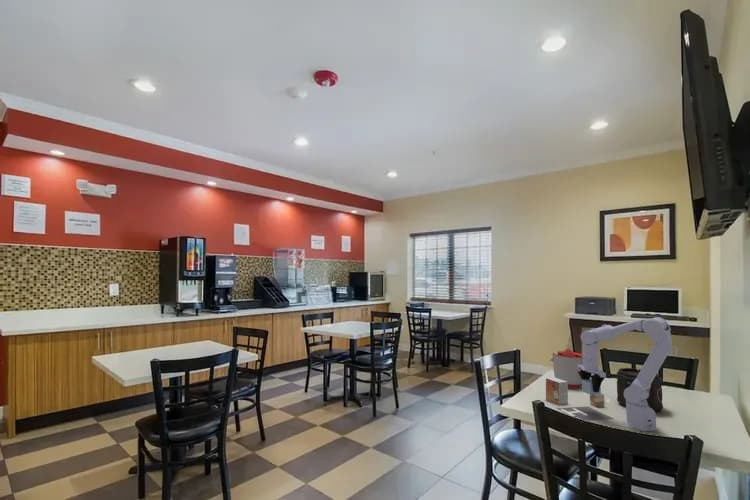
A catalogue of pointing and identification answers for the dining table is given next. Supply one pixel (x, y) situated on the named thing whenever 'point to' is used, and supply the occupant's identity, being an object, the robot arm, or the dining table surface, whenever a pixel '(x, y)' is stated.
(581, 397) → the dining table surface
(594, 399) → the maple block
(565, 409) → the letter mat
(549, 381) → the small box
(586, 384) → the blue cube
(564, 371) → the citrus juicer
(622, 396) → the wooden barrel
